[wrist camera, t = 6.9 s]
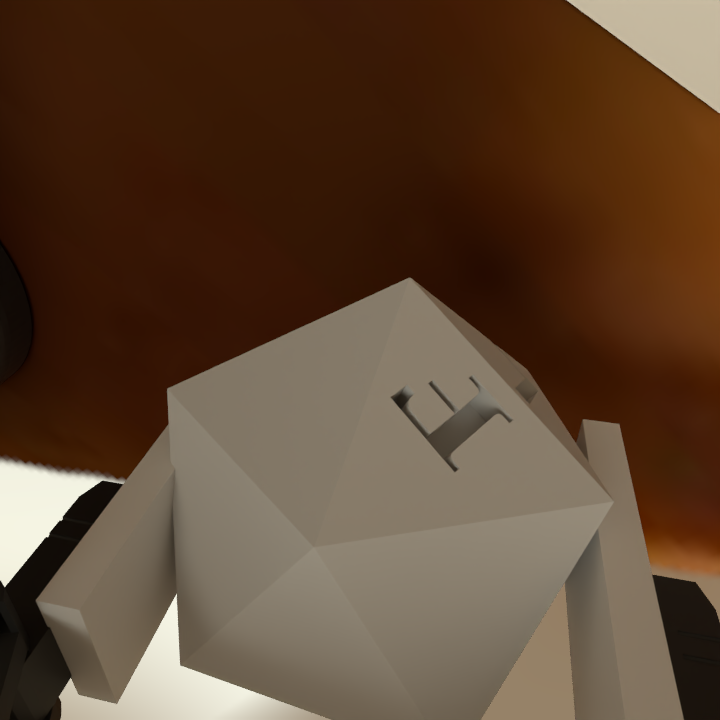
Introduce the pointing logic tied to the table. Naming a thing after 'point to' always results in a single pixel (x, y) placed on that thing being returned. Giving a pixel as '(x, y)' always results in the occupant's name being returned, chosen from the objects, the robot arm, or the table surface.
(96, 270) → the table surface
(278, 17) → the table surface
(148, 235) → the table surface
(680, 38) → the board
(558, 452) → the die
